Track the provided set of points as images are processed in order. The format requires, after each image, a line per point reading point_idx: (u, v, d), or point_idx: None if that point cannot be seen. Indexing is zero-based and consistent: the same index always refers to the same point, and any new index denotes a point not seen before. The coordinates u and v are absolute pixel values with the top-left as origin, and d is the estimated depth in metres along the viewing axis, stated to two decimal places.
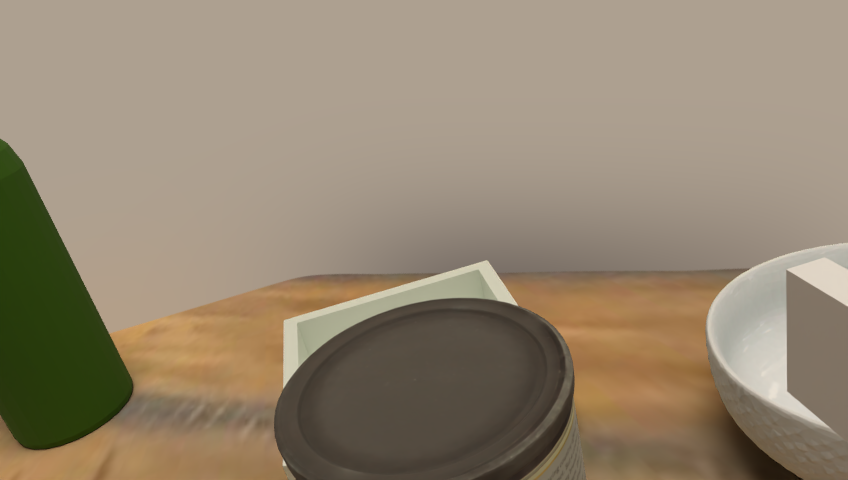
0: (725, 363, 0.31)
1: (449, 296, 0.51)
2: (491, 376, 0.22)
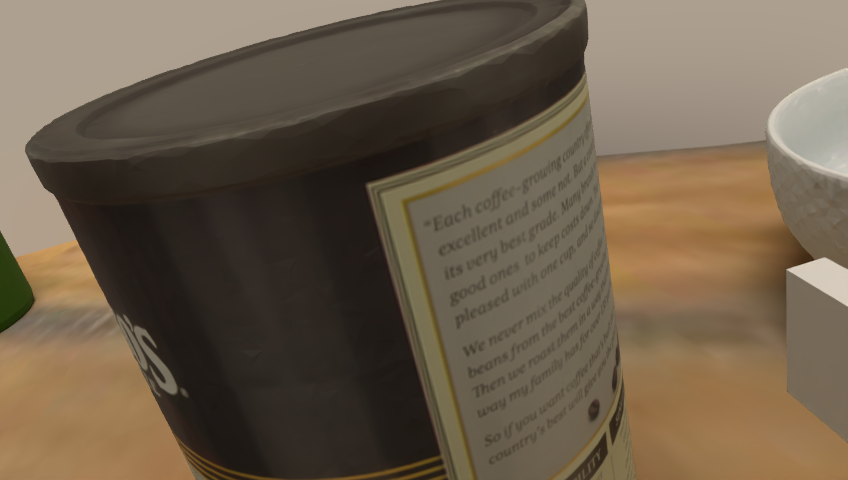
0: (805, 159, 0.21)
1: None
2: (436, 37, 0.12)
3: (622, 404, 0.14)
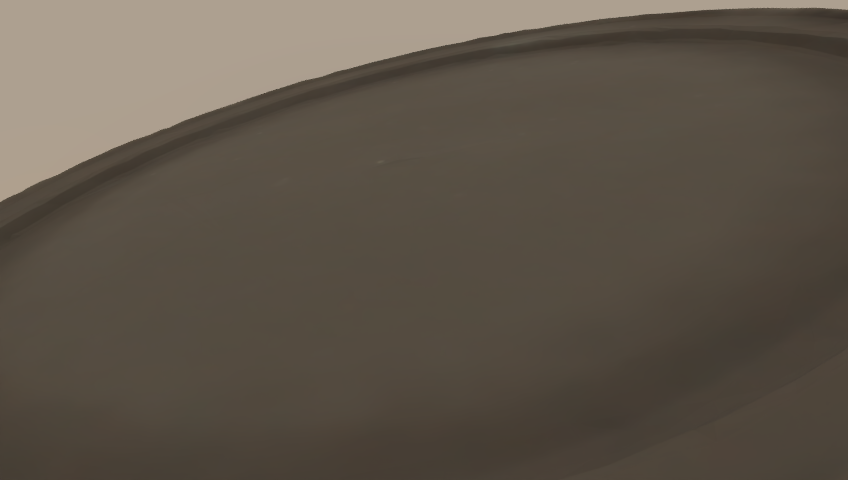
0: None
1: None
2: (680, 118, 0.06)
3: None
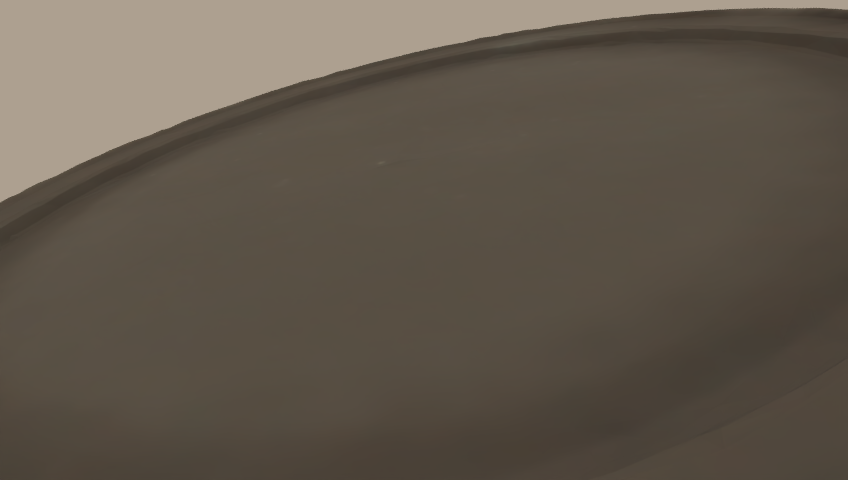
0: None
1: None
2: (683, 118, 0.06)
3: None
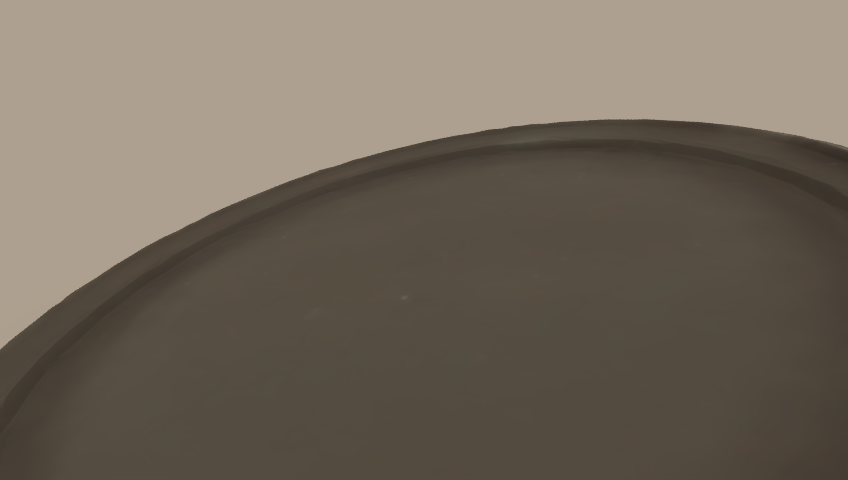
0: None
1: None
2: (681, 274, 0.06)
3: None
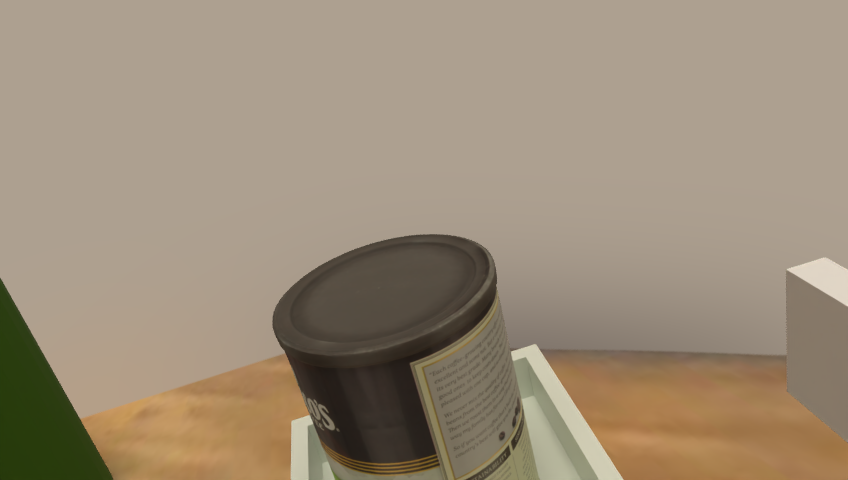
0: None
1: None
2: (435, 282, 0.30)
3: (520, 432, 0.31)
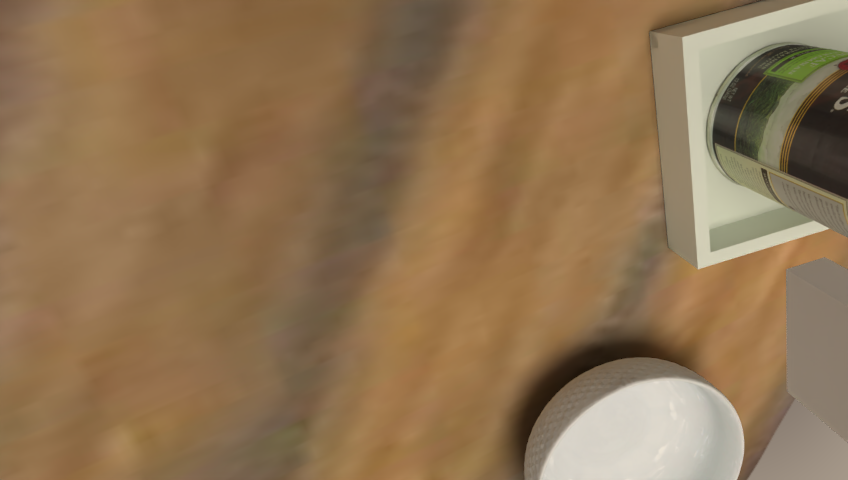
0: (648, 382, 0.46)
1: None
2: None
3: None
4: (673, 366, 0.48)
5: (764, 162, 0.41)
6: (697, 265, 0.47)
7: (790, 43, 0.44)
